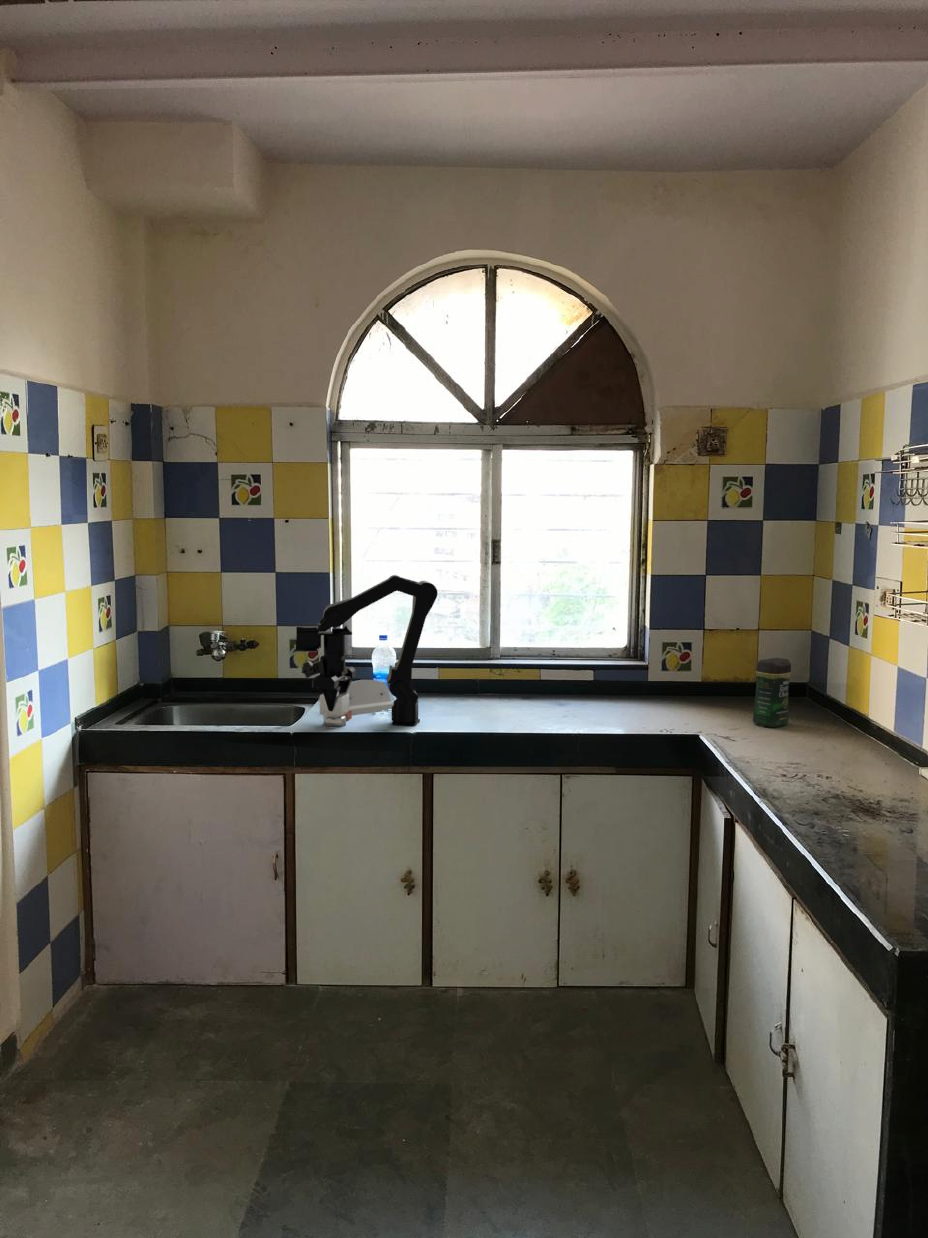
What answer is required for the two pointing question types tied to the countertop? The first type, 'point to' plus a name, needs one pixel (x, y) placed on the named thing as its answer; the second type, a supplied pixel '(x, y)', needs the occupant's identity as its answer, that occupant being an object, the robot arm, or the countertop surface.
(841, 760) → the countertop surface
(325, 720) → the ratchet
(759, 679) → the coffee jar
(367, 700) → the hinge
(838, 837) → the countertop surface
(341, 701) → the grey cube
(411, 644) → the robot arm
